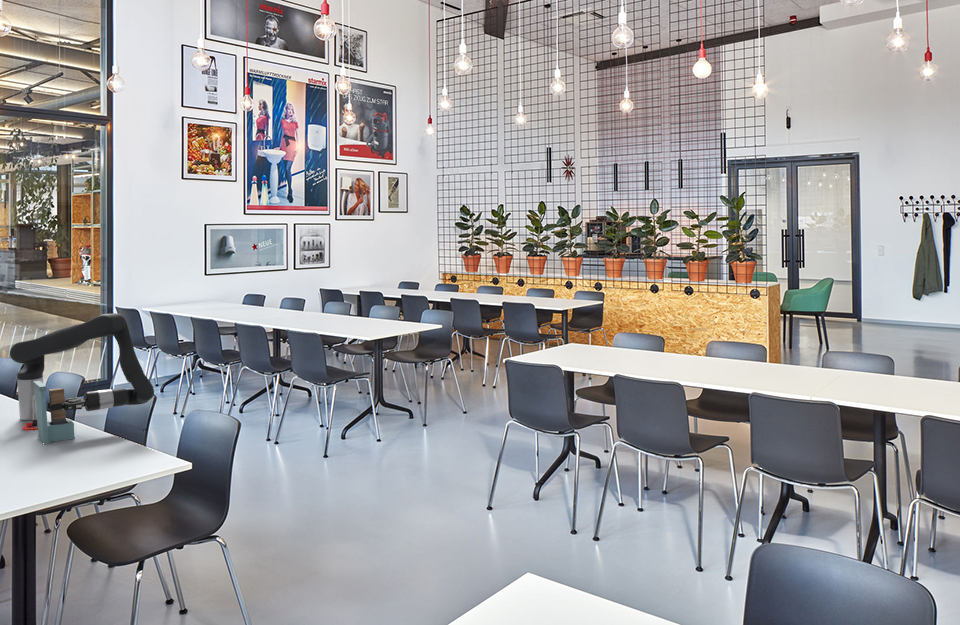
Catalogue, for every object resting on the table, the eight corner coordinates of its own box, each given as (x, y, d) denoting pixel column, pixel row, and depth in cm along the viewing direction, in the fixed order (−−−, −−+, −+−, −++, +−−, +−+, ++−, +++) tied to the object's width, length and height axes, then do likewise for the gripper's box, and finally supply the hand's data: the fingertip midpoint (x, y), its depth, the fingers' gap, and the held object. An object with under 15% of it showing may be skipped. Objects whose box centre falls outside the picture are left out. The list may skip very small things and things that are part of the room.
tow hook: (46, 430, 289) (47, 423, 297) (44, 398, 287) (45, 393, 295) (21, 432, 285) (23, 426, 293) (19, 401, 283) (21, 395, 291)
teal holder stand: (36, 437, 277) (33, 381, 274) (68, 432, 284) (65, 377, 281) (43, 444, 266) (39, 386, 264) (76, 439, 273) (72, 383, 271)
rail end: (51, 430, 275) (48, 389, 274) (65, 428, 278) (62, 387, 276) (53, 432, 272) (50, 390, 271) (66, 430, 275) (63, 389, 274)
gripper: (94, 387, 288) (44, 394, 277) (102, 393, 278) (51, 400, 267) (95, 406, 289) (46, 413, 278) (103, 412, 278) (53, 420, 267)
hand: (49, 406), depth 272 cm, fingers closed on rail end, 3 cm apart
